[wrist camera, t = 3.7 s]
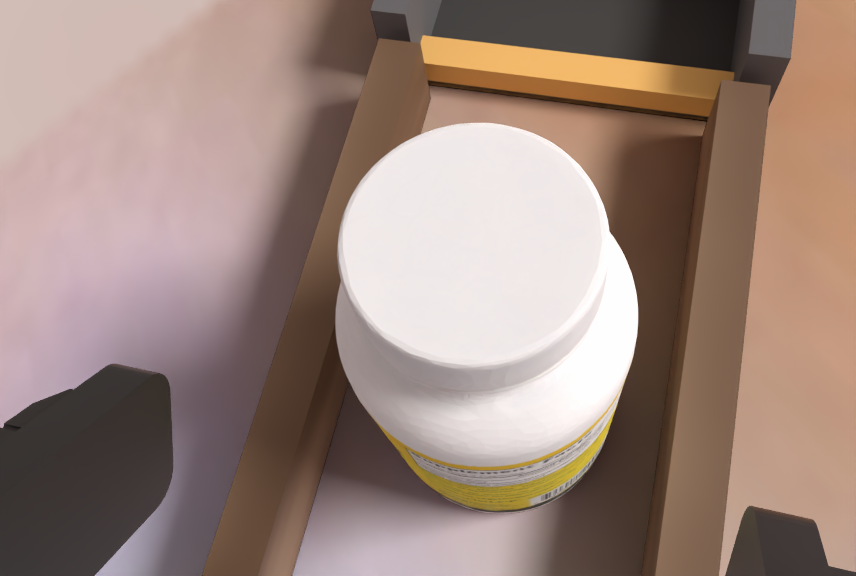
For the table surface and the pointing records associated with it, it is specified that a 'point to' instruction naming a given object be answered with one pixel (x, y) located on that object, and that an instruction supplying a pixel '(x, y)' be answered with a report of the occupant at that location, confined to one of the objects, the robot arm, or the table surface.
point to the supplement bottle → (485, 313)
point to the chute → (689, 371)
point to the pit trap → (597, 48)
